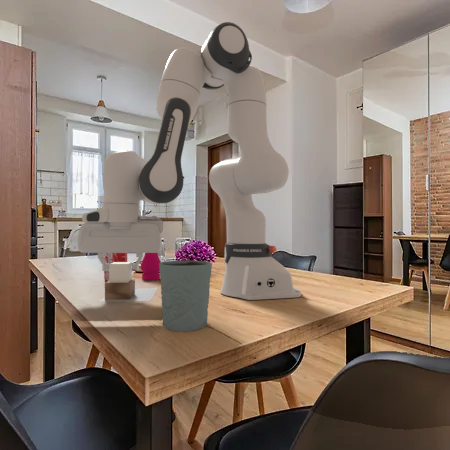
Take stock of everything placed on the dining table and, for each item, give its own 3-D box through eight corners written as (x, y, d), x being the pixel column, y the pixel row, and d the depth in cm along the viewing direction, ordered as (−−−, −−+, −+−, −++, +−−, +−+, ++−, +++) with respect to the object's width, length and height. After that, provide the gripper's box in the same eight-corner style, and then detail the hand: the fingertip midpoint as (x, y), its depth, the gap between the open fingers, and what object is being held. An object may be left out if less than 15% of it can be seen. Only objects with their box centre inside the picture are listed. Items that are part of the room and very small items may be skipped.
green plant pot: (154, 332, 58) (155, 265, 58) (162, 316, 68) (163, 259, 68) (211, 332, 59) (212, 265, 59) (211, 316, 69) (211, 259, 69)
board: (157, 291, 94) (157, 288, 94) (149, 305, 78) (149, 301, 78) (115, 291, 92) (115, 288, 92) (98, 305, 77) (98, 301, 77)
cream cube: (131, 279, 84) (131, 262, 84) (127, 282, 80) (128, 264, 80) (113, 279, 84) (114, 262, 84) (109, 282, 79) (109, 264, 79)
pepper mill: (137, 280, 112) (137, 222, 112) (145, 277, 119) (146, 222, 119) (156, 281, 111) (157, 222, 111) (164, 277, 118) (164, 222, 118)
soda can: (99, 284, 103) (99, 247, 103) (114, 281, 110) (114, 245, 110) (117, 286, 101) (117, 247, 101) (131, 282, 107) (132, 246, 107)
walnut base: (134, 294, 85) (134, 278, 85) (130, 299, 79) (130, 283, 79) (111, 294, 85) (111, 279, 85) (104, 299, 79) (104, 283, 79)
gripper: (164, 216, 86) (163, 268, 86) (84, 215, 84) (83, 269, 84) (161, 215, 80) (161, 272, 80) (75, 215, 78) (74, 272, 78)
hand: (120, 270), depth 82 cm, fingers open, 6 cm apart
